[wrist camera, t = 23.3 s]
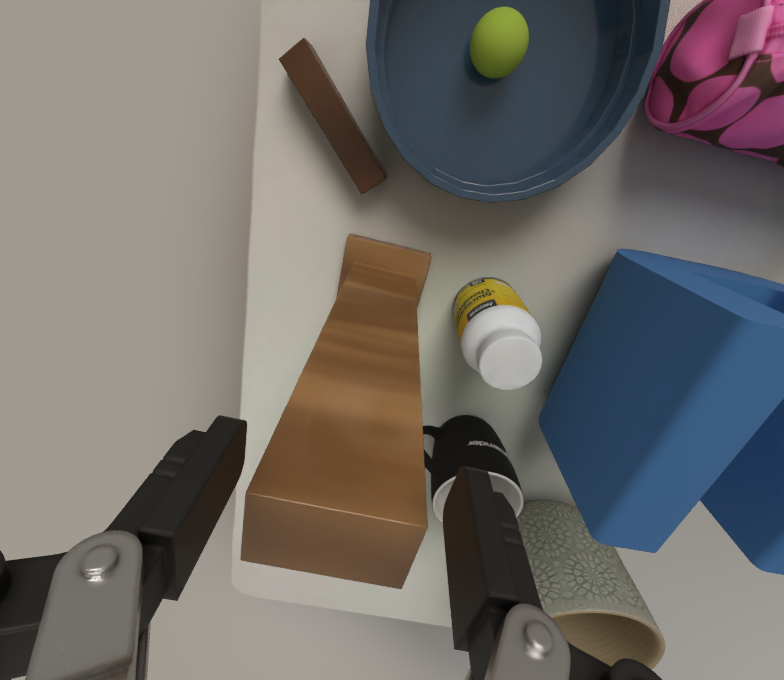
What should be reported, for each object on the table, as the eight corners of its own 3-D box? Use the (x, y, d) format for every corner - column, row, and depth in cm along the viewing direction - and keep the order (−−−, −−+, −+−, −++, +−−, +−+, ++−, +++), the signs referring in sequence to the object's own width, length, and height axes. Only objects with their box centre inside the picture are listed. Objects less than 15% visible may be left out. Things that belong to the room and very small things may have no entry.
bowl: (322, 30, 29) (307, 10, 24) (558, -207, 23) (593, -290, 19) (456, 237, 36) (463, 250, 31) (665, 93, 30) (710, 83, 25)
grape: (462, 21, 25) (526, 12, 24) (476, 3, 27) (535, -6, 26) (465, 90, 28) (521, 85, 27) (477, 69, 30) (530, 63, 29)
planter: (458, 550, 56) (474, 680, 43) (501, 470, 49) (537, 597, 35) (564, 572, 58) (612, 703, 44) (622, 497, 50) (701, 629, 37)
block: (773, 279, 36) (1062, 385, 20) (673, 424, 44) (822, 581, 28) (594, 240, 35) (748, 320, 19) (525, 396, 43) (593, 542, 27)
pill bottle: (495, 261, 36) (529, 308, 26) (527, 312, 39) (571, 373, 28) (439, 299, 38) (450, 356, 28) (472, 344, 41) (494, 413, 30)
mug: (517, 427, 46) (543, 497, 36) (471, 472, 49) (484, 545, 40) (435, 380, 43) (441, 442, 34) (392, 431, 47) (388, 500, 38)
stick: (361, 194, 32) (364, 191, 34) (385, 178, 31) (387, 176, 33) (278, 58, 28) (287, 65, 30) (304, 36, 27) (311, 44, 29)
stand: (349, 233, 36) (214, 434, 11) (431, 253, 36) (479, 488, 11) (335, 309, 39) (211, 590, 15) (410, 326, 40) (412, 625, 15)
